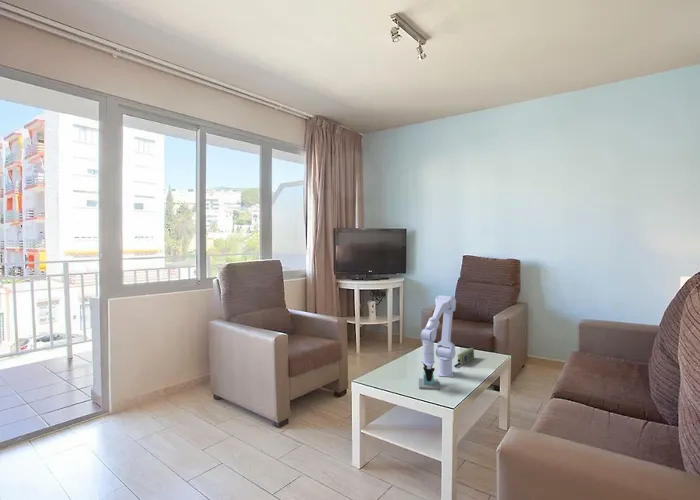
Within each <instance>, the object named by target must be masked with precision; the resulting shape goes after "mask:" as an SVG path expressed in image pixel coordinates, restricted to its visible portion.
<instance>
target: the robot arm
mask: <svg viewBox="0 0 700 500" xmlns="http://www.w3.org/2000/svg"><path fill="white" fill-rule="evenodd" d="M434 304H435V308H434V311H433V314H432V316H431V317H429V319H428V321H427V323H426V325H425V327H424V328H423V329H422V330H421V332H420V339H421V343H422V359H420V363H422V364H423V366H422V367H423V368H422V369H423V370H424V371H423V372H425V374H426V379H427V381H431V380H432V375H433V374H434V372H435V370H436V368H435V367H433V366H434V364H435V355H436V357H437V359H438V369H437V375H438V377H447V378H448V377H450V378H451V377H453V378H454V373H453V359H454V358H455V357H456V345H455V344H454V343H453V342H452V341H451V339H452V326H453V325H452V324H453V316H454V312H456V309H457V299H456V298H455V296H453V295H451V296H449V295H441V294H438V295H437V296H435V303H434ZM442 314H443V316H442ZM441 316H442V328H441V329H442V330H441V339H440V341H437V343H436V347H435V341H436V339H437V329H438V327H439V325H440V323H441V322H440V318H441Z"/></svg>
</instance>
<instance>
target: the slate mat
mask: <svg viewBox="0 0 700 500" xmlns="http://www.w3.org/2000/svg"><path fill="white" fill-rule="evenodd" d="M418 389H419V390H435V391H439V390H440V385H439V379H437V378H434V385H424V382H423V378H418Z"/></svg>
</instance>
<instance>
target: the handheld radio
mask: <svg viewBox="0 0 700 500" xmlns="http://www.w3.org/2000/svg"><path fill="white" fill-rule="evenodd" d="M473 358H474V359H475V349H474V347H470V348H468V349H465V350H464V351H462V352H460V353H458V354H457V363H456V364H454V368H457V367H460V365H461V367H462V366H464V365H465V364H467V363H469V362H470V361H472V360H474V359H473ZM471 359H472V360H471ZM468 361H469V362H468ZM463 364H464V365H463Z"/></svg>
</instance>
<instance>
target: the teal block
mask: <svg viewBox="0 0 700 500" xmlns="http://www.w3.org/2000/svg"><path fill="white" fill-rule="evenodd" d="M434 374H435V373H433V375H432V380H431V381H427V379H426V374H425V371H422V376H423V378H422V379H423V382H424V385H434V379H435V377H434V376H435V375H434Z"/></svg>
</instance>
